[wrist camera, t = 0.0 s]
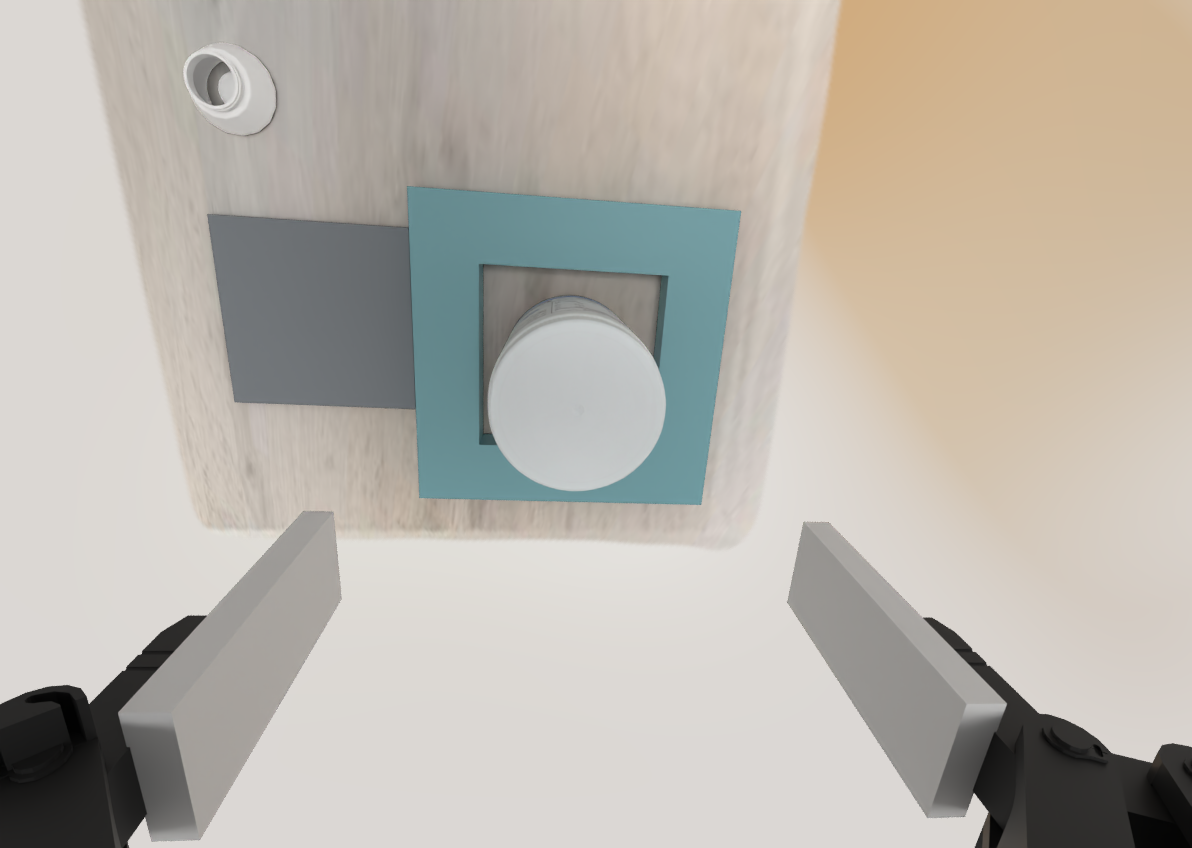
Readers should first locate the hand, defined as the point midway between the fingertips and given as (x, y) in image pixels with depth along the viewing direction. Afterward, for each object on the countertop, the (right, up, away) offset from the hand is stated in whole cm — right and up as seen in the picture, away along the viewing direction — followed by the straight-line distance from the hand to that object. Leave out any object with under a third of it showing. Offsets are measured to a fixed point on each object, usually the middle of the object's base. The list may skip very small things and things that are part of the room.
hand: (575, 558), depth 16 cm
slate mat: (-19, +12, +24) cm, 33 cm away
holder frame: (-1, +9, +26) cm, 28 cm away
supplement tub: (-1, +9, +27) cm, 28 cm away
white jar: (-22, +25, +20) cm, 39 cm away
